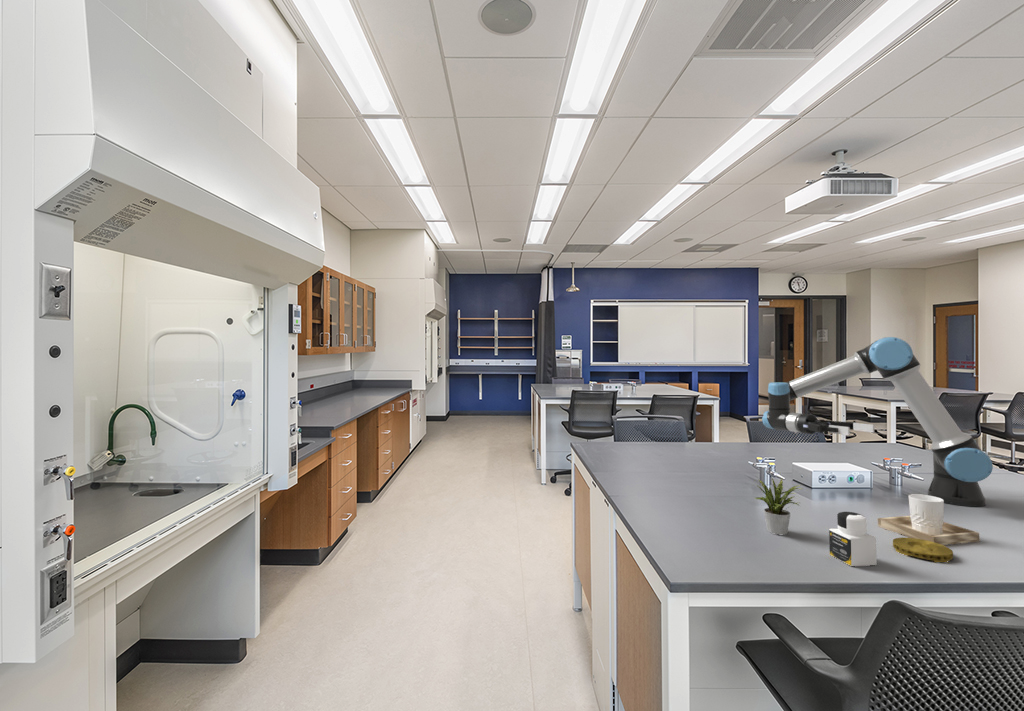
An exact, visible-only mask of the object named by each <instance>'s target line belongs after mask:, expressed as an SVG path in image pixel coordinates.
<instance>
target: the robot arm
mask: <svg viewBox="0 0 1024 711" xmlns="http://www.w3.org/2000/svg"><path fill="white" fill-rule="evenodd" d="M920 367H921V363H920V362H919V361H918V359H917V358H916V356H915V355H914V352H913V349H912V347H911V345H910V344H909V343H908V342H907V341H905V340H904V339H901V338H898V337H894V336H887V337H882V338H879V339H877V340H875V341H874V342H872V343H871V344H869V345H868V346H866V347H864V348H862V349H859V350H857V351H855V352H854V353H853V355H852V356H849V357H847V358H845V359H842V360H840V361H837V362H834V363H831V364H829V365H827V366H824V367H823V368H820V369H818V370H814V371H812V372H809V373H807V374H804V375H802V376H799V377H797V378H794V379H792V380H790V381H787V382H774V381H773V382H768V386H767V393H768V394H767V395H768V410H766V411H764V412H763V413H762V415H763V416H762V417H761V419H762V425H763V426H764V427H765V428H767V429H771V430H774V431H776V430H777V431H784V432H785V431H786V432H792V433H794V434H795V435H797V434H798V433H800V434H807V435H812V434H813V435H814V434H815V433H819V434H822V433H823V435H826V436H827V435H829V434H834V435H835V434H836V435H843V436H850V435H851V433H850V432H851V431H852V430H853V431H858V432H865V433H875V424H869V423H861V422H859V423H858V422H857V421H856V420H852V421H841V420H840V421H838V420H836V421H835V420H829V419H827V420H825V419H818V418H817V417H816V415H814V414H810V413H801V412H791V408H790V406H791V405H790V404H791V402H790V401H793V400H796V399H798V398H801V397H804V396H806V395H808V394H811V393H814V392H817V391H819V390H821V389H824V388H827V387H830V386H833V385H835V384H838V383H840V382H842V381H846V380H849V379H852V378H853V377H856V376H860V375H861V374H864V373H865V374H871V373H874V372H878V373H879V374H880V376H881V377H882V379H883V380H885V381H888V382H891V383H892V385H893V386H894V388H895V389H896V391H897V392H898V393H899V395H900V397H901V398H902V399H903V401H904V403H906V405H907V407H908V408H909V410H910V411H911V412H912V414H913V415H914V417H915V418H916V420H917V421H918V423H919V424H920V426H921V427H922V429H923V430H924V431H925V433H926V435H927V436H928V437H929V439H930V441H931V442H932V443H931V445H930V449H931V451H932V453H933V454H932V457H933V459H932V460H933V478H932V480H931V482H930V484H929V488H928V490H927V495H929V496H934V497H938V498H941V499H943V500H944V504H950V505H957V506H962V507H963V506H964V507H983V506H985V505H986V498H985V496H984V493H983V492H982V488H981V486H980V484H979V482H981V481H983V480H985V479H987V478H988V477H989V476H990V475H991V474H992V471H993V469H994V468H993V466H994V465H993V461H992V459H991V457H990V456H989V455H988V454H987V453H986V452H985V451H983V450H982V448H980V446H979V445H978V443H977V441H976V440H975V439H974V437H973V436H972V435H971V434H967V433H964V432H963V431H962V430H961V428H960V427H959V425H957V423H956V421H955V420H954V418H952V416H951V414H950V413H949V412H948V410H947V409H946V407H945V406H944V405H943V403H942V402H941V400H940V399H939V397H938V396H937V394H936V393H935V392H934V391H933V389H932V388H931V386H930V385H929V383H928V382H927V380H926V379H925V378H924V377H923V375H922V374H921V372H920V371H919V370H920ZM850 430H851V431H850Z"/></svg>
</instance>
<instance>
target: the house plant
mask: <svg viewBox="0 0 1024 711" xmlns="http://www.w3.org/2000/svg"><path fill="white" fill-rule="evenodd" d="M758 481H759V482H760V484H761V486H762V487H761V486H760V485H758V484H756V486H757V487H758V488H759V489H760V490H761V491H762V493H763V494H764V495H765V496H764V497H763V496H761V497H755V498H754V499H755V500H761V501H763V502H764V503H765V504H766V505H767V507H765V508H763V514H764V519H765V520H764V521H765V524H766V525H765V526H766V530H768V531H769V532H768V531H767V532H768V533H770V532H771V533H770V534H772V533H775V534H786V535H788V531H789V526H790V525H789V524H790V519H791V512H790V511H788V510H787V509H788V508H790V507H791V506H793V505H797V506H800V503H798V502H795V501H794V500H793V498H794V496H790V495H794V494H795V495H797V493H796V492H794V491H796V490H799V489H800V490H803V488H800V486H802V484H798V485H794V486H792V487H790V488H788V490H786V491H783V489H784V486H783V478H780V481H779V483H778V484H777V485H776V483H775V480H774V478H773V477H771V481H772V486H773V490H774V491H772V489H771V487H770V486H769V487H768V486H767V485H766V483H764V482H763V481H762V480H760V479H758ZM773 492H774V494H773ZM789 496H790V497H789ZM788 504H791V505H790V506H788V507H787V508H785V506H787V505H788ZM784 508H785V509H784ZM775 534H774V535H775Z"/></svg>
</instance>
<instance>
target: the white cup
mask: <svg viewBox="0 0 1024 711" xmlns="http://www.w3.org/2000/svg"><path fill="white" fill-rule="evenodd" d="M908 508H909V516H910V518H911V524H912V529H914V530H917V531H920V532H923V533H926V534H929V535H942V525H943V522H944V517H945V516H944V512H945V503H944V500H943V499H941V498H938V497H934V496H929V495H928V494H920V493H919V494H918V493H913V494H911V493H910V494H908Z"/></svg>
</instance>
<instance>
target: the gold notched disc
mask: <svg viewBox="0 0 1024 711" xmlns="http://www.w3.org/2000/svg"><path fill="white" fill-rule="evenodd" d="M892 547H893V548H894V549H895V550H896V551H895V550H894V551H895V552H897V553H898V552H899V553H898V554H900V553H901V555H902V554H904V555H903V556H905V555H907V556H906V557H915V558H918V559H922V560H929V561H932V562H933V561H934V562H933V563H937V562H947V561H949V562H950V561H952V560H953V559H954V551H953V550H952V549H951V548H950V547H947V545H941V544H938V543H935V542H931V541H927V540H922V539H916V538H909V537H895V538H894V539H893V540H892ZM947 563H948V562H947Z"/></svg>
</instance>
